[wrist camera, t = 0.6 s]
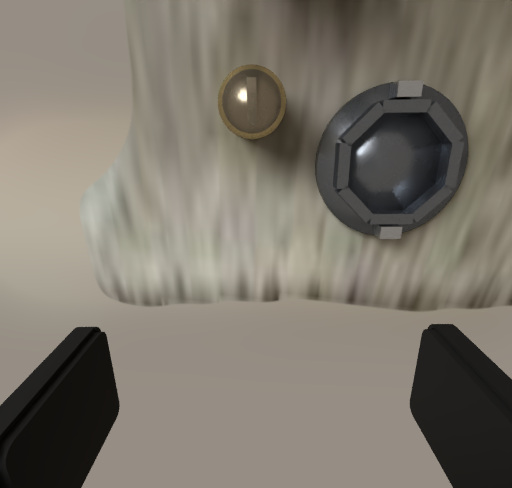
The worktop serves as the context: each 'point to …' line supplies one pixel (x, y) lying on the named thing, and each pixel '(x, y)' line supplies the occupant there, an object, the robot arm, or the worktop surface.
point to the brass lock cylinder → (252, 101)
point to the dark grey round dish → (391, 158)
